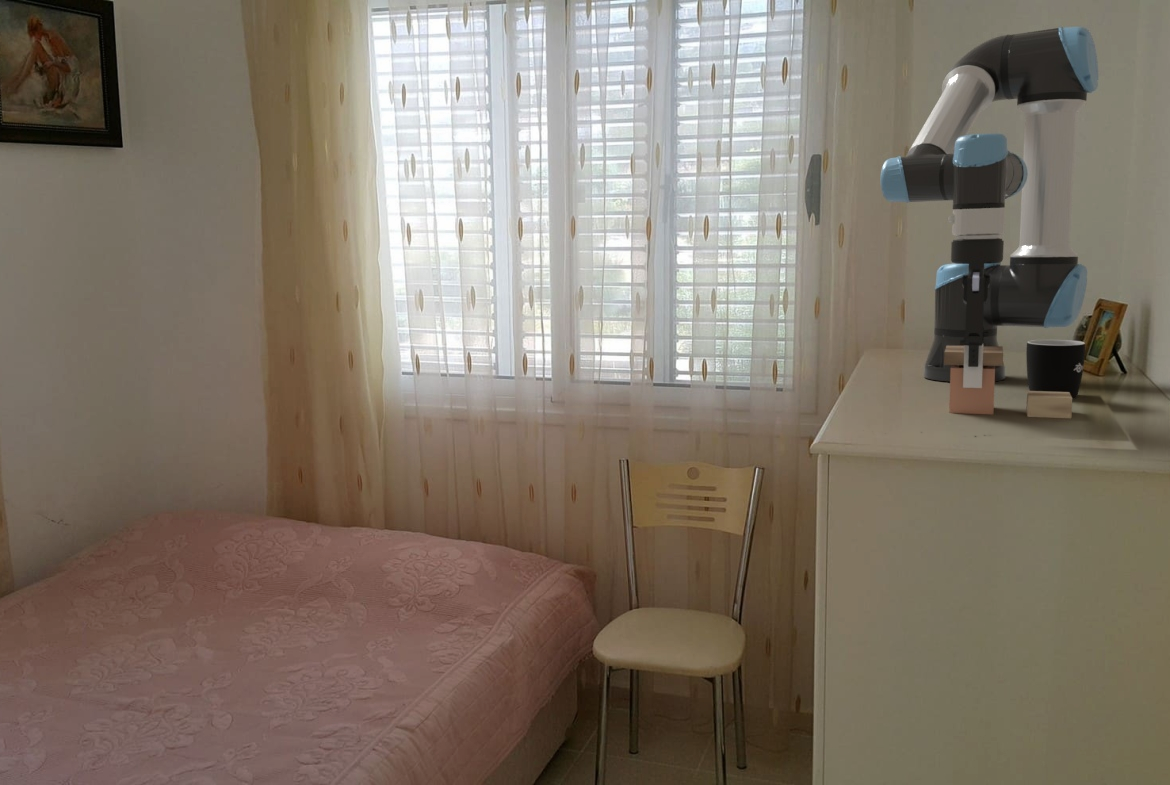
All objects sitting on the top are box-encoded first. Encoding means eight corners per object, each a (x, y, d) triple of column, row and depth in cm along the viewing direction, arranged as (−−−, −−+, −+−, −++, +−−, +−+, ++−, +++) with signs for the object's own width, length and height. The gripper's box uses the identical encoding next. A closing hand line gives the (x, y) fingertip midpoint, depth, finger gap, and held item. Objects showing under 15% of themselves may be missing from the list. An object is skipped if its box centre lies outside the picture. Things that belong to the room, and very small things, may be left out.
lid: (946, 357, 165) (946, 345, 164) (1002, 358, 162) (1002, 346, 161) (944, 364, 157) (944, 351, 157) (1002, 365, 154) (1003, 352, 153)
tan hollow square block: (950, 411, 164) (951, 362, 163) (992, 413, 162) (994, 363, 161) (948, 418, 159) (950, 367, 157) (993, 420, 156) (995, 369, 155)
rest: (1025, 416, 159) (1026, 390, 159) (1068, 417, 157) (1069, 392, 156) (1027, 422, 154) (1028, 396, 153) (1071, 424, 152) (1072, 398, 151)
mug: (1079, 407, 166) (1082, 345, 164) (1020, 404, 170) (1022, 344, 169) (1087, 397, 176) (1090, 338, 174) (1031, 394, 180) (1034, 337, 179)
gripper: (953, 236, 167) (949, 372, 171) (949, 239, 148) (944, 393, 151) (1002, 235, 164) (998, 373, 168) (1004, 238, 145) (999, 394, 149)
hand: (972, 382), depth 160 cm, fingers closed on lid, 8 cm apart
